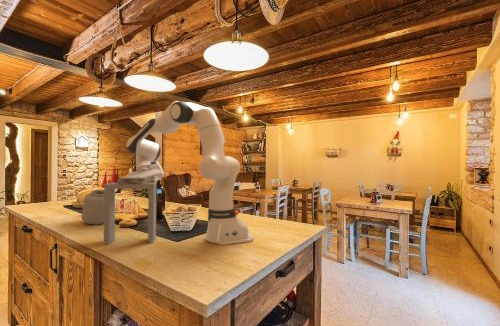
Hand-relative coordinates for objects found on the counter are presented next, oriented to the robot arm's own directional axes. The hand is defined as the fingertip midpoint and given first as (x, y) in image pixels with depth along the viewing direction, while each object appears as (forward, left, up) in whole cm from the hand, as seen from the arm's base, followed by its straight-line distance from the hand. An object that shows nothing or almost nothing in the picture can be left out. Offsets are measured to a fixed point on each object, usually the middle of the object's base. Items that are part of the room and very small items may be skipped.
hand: (145, 185), depth 135 cm
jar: (+28, -14, -23) cm, 39 cm away
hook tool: (+1, +18, +3) cm, 18 cm away
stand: (+1, +23, -23) cm, 32 cm away
